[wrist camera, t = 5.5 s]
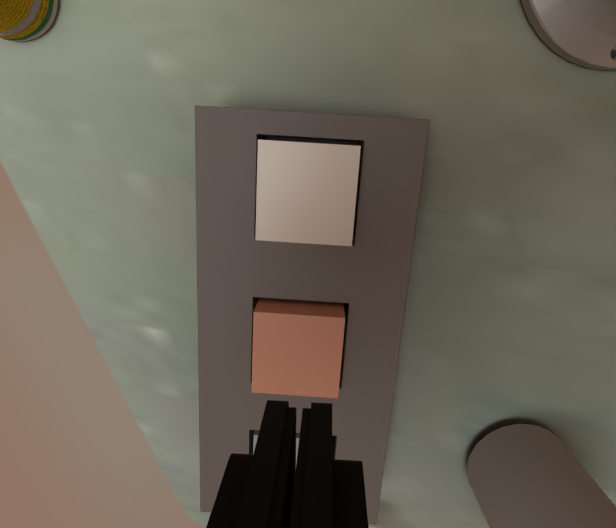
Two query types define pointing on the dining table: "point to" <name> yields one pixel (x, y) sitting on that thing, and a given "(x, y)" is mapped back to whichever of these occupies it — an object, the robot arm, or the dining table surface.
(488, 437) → the can
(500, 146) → the dining table surface
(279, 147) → the cream key
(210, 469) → the key panel
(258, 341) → the terracotta key
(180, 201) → the dining table surface
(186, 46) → the dining table surface
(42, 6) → the supplement bottle
